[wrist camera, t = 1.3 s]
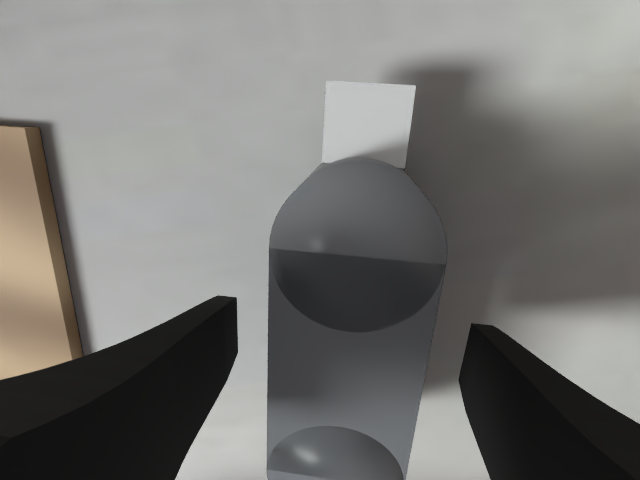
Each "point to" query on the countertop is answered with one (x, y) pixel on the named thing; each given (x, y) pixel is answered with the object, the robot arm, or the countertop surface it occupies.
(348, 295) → the grey capsule with tab
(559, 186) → the countertop surface
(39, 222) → the oak board
